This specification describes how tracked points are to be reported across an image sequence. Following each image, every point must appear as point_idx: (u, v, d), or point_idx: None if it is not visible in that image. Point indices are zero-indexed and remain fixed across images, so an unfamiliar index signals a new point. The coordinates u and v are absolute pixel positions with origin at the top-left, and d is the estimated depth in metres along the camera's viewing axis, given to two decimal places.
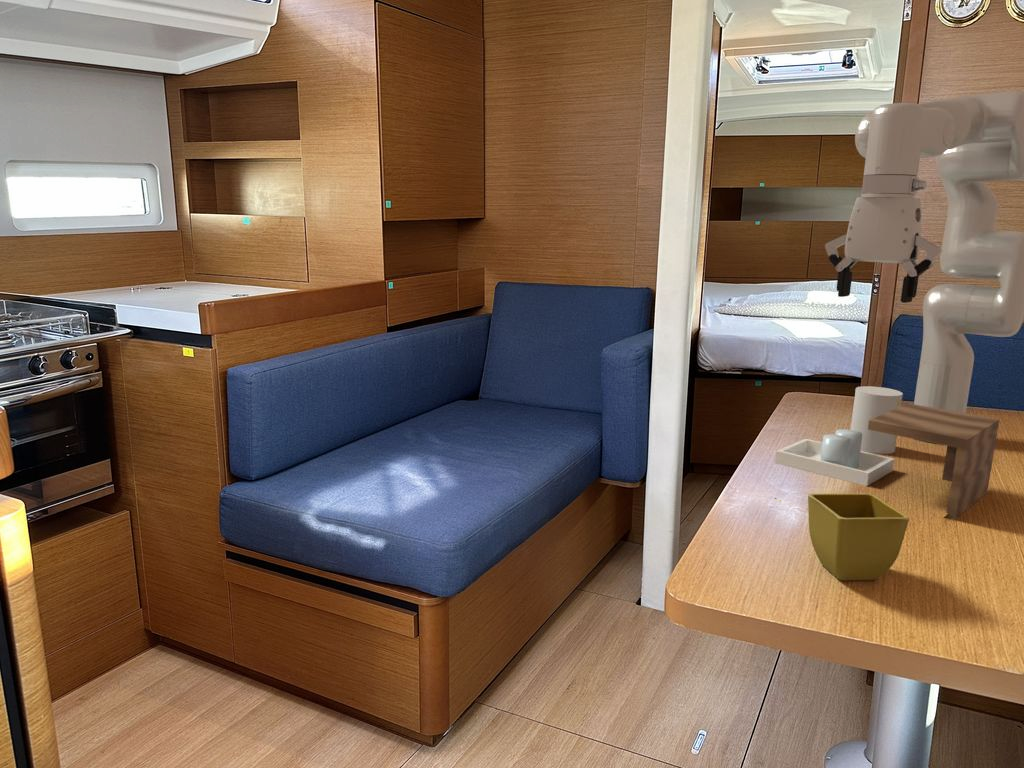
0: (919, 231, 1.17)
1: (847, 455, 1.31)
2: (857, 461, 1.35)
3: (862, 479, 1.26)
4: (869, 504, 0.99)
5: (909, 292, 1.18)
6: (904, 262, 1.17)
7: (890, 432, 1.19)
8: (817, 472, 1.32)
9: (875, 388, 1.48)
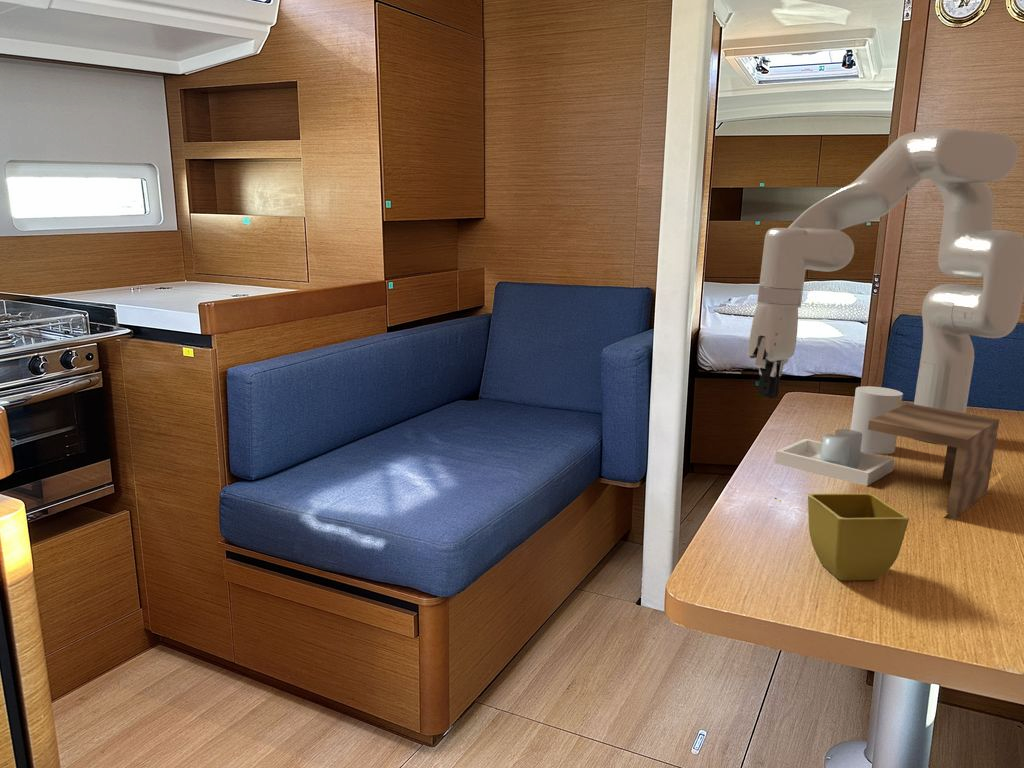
0: None
1: (847, 455, 1.31)
2: (857, 461, 1.35)
3: (862, 479, 1.26)
4: (869, 504, 0.99)
5: None
6: (782, 362, 1.41)
7: (890, 432, 1.19)
8: (817, 472, 1.32)
9: (875, 388, 1.48)
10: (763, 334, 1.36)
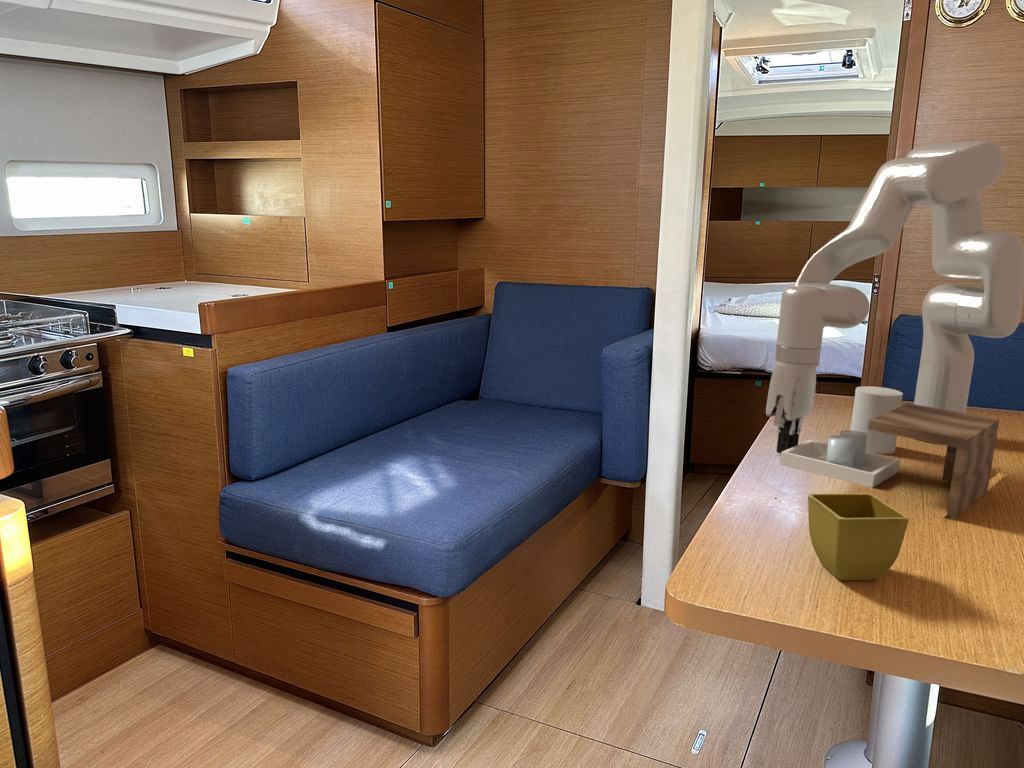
0: None
1: (852, 456, 1.30)
2: (862, 462, 1.34)
3: (868, 480, 1.26)
4: (869, 504, 0.99)
5: None
6: (800, 419, 1.40)
7: (890, 432, 1.19)
8: (822, 473, 1.31)
9: (875, 388, 1.48)
10: (781, 394, 1.35)
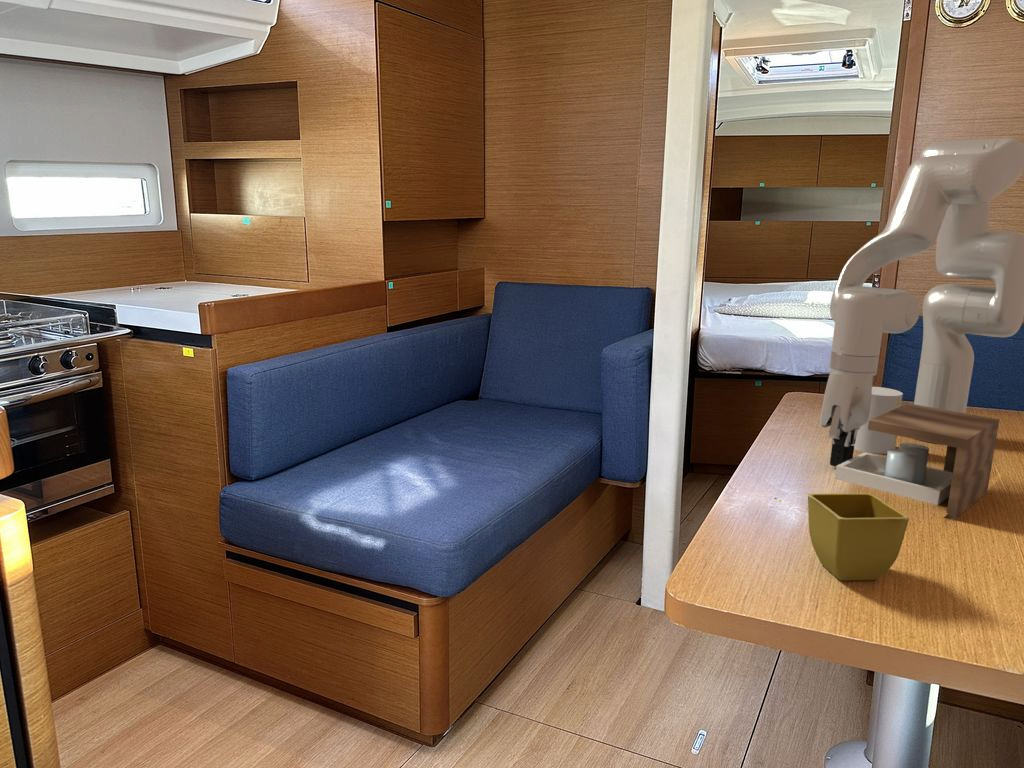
0: None
1: (914, 471, 1.23)
2: (923, 477, 1.27)
3: (933, 497, 1.19)
4: (869, 504, 0.99)
5: None
6: (856, 430, 1.33)
7: (890, 432, 1.19)
8: (882, 489, 1.24)
9: (875, 388, 1.48)
10: (838, 404, 1.28)
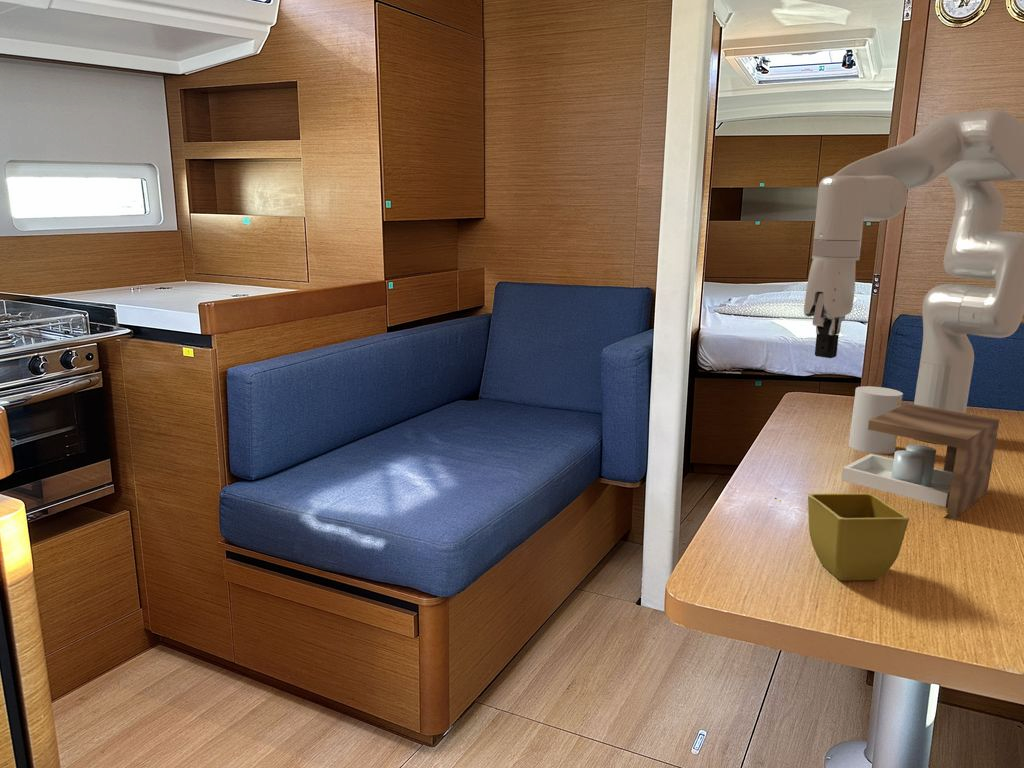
0: None
1: (921, 473, 1.23)
2: (930, 479, 1.27)
3: (940, 499, 1.18)
4: (869, 504, 0.99)
5: None
6: (840, 319, 1.33)
7: (890, 432, 1.19)
8: (889, 491, 1.23)
9: (875, 388, 1.48)
10: (821, 290, 1.28)
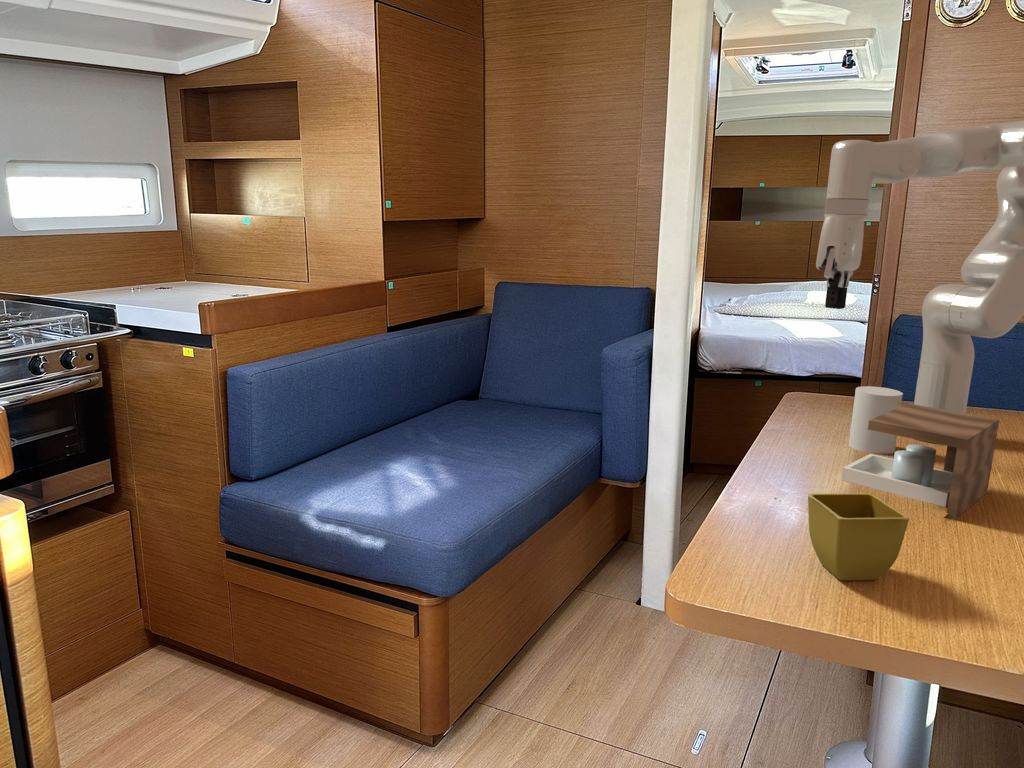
0: None
1: (921, 473, 1.23)
2: (930, 479, 1.27)
3: (940, 499, 1.18)
4: (869, 504, 0.99)
5: None
6: (849, 273, 1.45)
7: (890, 432, 1.19)
8: (889, 491, 1.23)
9: (875, 388, 1.48)
10: (832, 244, 1.41)
